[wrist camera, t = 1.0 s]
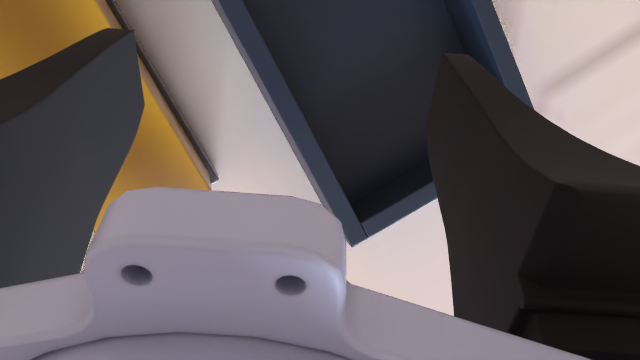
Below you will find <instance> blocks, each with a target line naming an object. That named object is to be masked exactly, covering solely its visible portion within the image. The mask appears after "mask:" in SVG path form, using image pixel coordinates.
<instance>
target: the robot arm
mask: <svg viewBox="0 0 640 360" xmlns="http://www.w3.org/2000/svg"><path fill="white" fill-rule="evenodd" d="M144 106H145V102H144V96H143V89H142V82H141V76H140V69H139V63H138V56H137V49H136V43H135V36H134V30H128V29H115V28H106V29H103V30H100V31H98V32H96V33H94V34H92V35H90V36H88V37H86V38H84V39H82V40H80V41H78V42H76V43H74V44H72V45H71V46H69V47H67V48H65V49H63V50H61V51H59V52H57V53H55V54H53V55H52V56H50V57H48V58H46V59H44V60H42V61H39V62H37V63H35V64H33V65H31V66H29V67H27V68H25V69H23V70H20V71H18V72H16V73H14V74H12V75H10V76H7V77H5V78H2V79H0V360H640V166H638V165H635V164H633V163H630V162H628V161H625V160H623V159H620V158H618V157H616V156H613V155H611V154H609V153H607V152H605V151H603V150H600V149H598V148H596V147H594V146H592V145H590V144H588V143H586V142H584V141H582V140H581V139H579V138H577V137H575V136H573V135H571V134H570V133H568V132H567V131H565V130H563V129H562V128H560V127H558V126H557V125H555V124H554V123H552V122H550V121H549V120H547V119H546V118H544V117H543V116H542V115H540V114H539V113H538V112H536V111H535V110H534V109H532V108H531V107H530V106H528V105H527V104H526V103H524V102H523V101H522V100H521V99H519V98H518V97H517V96H516V95H514V94H513V93H512V92H511V91H510V90H508V89H507V88H506V87H505V86H504V85H503V84H502V83H500V82H499V81H498V80H497V79H496V78H495V77H494V76H493V75H492V74H490V73H489V72H488V71H487V70H486V69H485V68H484V67H483V66H482V65H480V64H479V63H478V62H477V61H476V60H475V59H473V58H472V57H471V56H469V55H467V54H453V53H442V56H441V60H440V65H439V69H438V74H437V78H436V83H435V87H434V92H433V96H432V101H431V105H430V110H429V115H428V119H427V124H426V130H427V145H428V157H429V162H430V167H431V171H432V176H433V180H434V185H435V189H436V193H437V197H438V202H439V206H440V210H441V214H442V219H443V223H444V227H445V232H446V238H447V244H448V253H449V263H450V272H451V283H452V295H453V306H454V316H451V315H448V314H445V313H442V312H439V311H435V310H432V309H429V308H426V307H423V306H419V305H416V304H413V303H410V302H407V301H404V300H400V299H397V298H394V297H391V296H388V295H385V294H381V293H378V292H375V291H372V290H369V289H365V288H362V287H359V286H356V285H353V284H351V283H349V282H348V281H347V280H346V240H345V236H344V232H343V228H342V224H341V221H340V220H338V219H337V218H336V217H335V216H334V215H333V214H332V213H330V212H329V211H328V210H327V209H326V208H325V207H323V206H322V205H321V204H318V203H314V202H311V201H307V200H303V199H300V198H296V197H292V196H282V195H268V194H253V193H239V192H224V191H210V190H196V189H181V188H167V187H151V188H144V189H137V190H129V191H126V192H125V193H123V194H122V195H121V196H120V197H118V198H117V199H116V200H115V201H113V202H112V203H111V204H110V205H108V207H107V209H106V211H105V214H104V216H103V218H102V220H101V222H100V224H99V227H98V229H97V231H96V233H95V235H94V238H93V240H92V242H91V244H90V246H89V249H88V251H87V253H86V250H87V247H88V244H89V241H90V238H91V235H92V232H93V229H94V226H95V223H96V220H97V218H98V215H99V213H100V211H101V208H102V206H103V204H104V202H105V200H106V198H107V196H108V194H109V191H110V189H111V187H112V185H113V183H114V181H115V179H116V177H117V175H118V173H119V171H120V169H121V167H122V165H123V163H124V161H125V159H126V157H127V154H128V152H129V150H130V148H131V146H132V144H133V142H134V140H135V137H136V134H137V131H138V128H139V124H140V121H141V117H142V114H143V110H144ZM85 253H86V258H85V267H84V273H80V270H81V266H82V263H83V260H84V256H85Z"/></svg>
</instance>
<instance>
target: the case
mask: <svg viewBox="0 0 640 360" xmlns="http://www.w3.org/2000/svg"><path fill="white" fill-rule="evenodd" d="M211 1H212V2H213V4H214V6H215V8H216V10H217V12H218V13H219V15H220V17H221V19H222V21H223V23H224V25H225V26H226V28H227V30H228V32H229V34H230V36H231V37H232V39H233V41H234V43H235V45H236V47H237V48H238V50H239V52H240V54H241V56H242V58H243V59H244V61H245V63H246V65H247V67H248V69H249V70H250V72H251V74H252V76H253V78H254V80H255V82H256V83H257V85H258V87H259V89H260V91H261V93H262V94H263V96H264V98H265V100H266V102H267V104H268V105H269V107H270V109H271V111H272V113H273V115H274V116H275V118H276V120H277V122H278V124H279V126H280V127H281V129H282V131H283V133H284V135H285V137H286V139H287V140H288V142H289V144H290V146H291V148H292V150H293V151H294V153H295V155H296V157H297V159H298V161H299V162H300V164H301V166H302V168H303V170H304V172H305V173H306V175H307V177H308V179H309V181H310V183H311V185H312V186H313V188H314V190H315V192H316V194H317V196H318V197H319V199H320V201H321V203H322V205H323V207H325V208H326V209H327V210H328V211H329V212H330V213H332V214H333V215H334V216H335V217H336V218H337V219H338V220H340V221H341V224H342V228H343V232H344V236H345V240H346V241H347V242H348V243H349V245H350V246H351V247H354V246H356V245H358V244H359V243H361V242H363V241H365V240H366V239H367V238H369V237H371V236H373V235H375V234H377V233H378V232H380V231H382V230H383V229H385V228H387V227H389V226H390V225H392V224H394V223H395V222H397V221H399V220H401V219H402V218H404V217H406V216H407V215H409V214H411V213H413V212H414V211H416V210H418V209H419V208H421V207H423V206H424V205H426V204H428V203H430V202H431V201H433V200H435V199H436V198H438V197H437V193H436V189H435V185H434V180H433V176H432V171H431V167H430V162H429V157H428V145H427V130H426V124H427V119H428V115H429V110H430V105H431V101H432V96H433V92H434V87H435V83H436V78H437V74H438V69H439V65H440V60H441V56H442V53H453V54H467V55H469V56H471V57H472V58H473V59H475V60H476V61H477V62H478V63H479V64H480V65H482V66H483V67H484V68H485V69H486V70H487V71H488V72H489V73H490V74H492V75H493V76H494V77H495V78H496V79H497V80H498V81H499V82H500V83H502V84H503V85H504V86H505V87H506V88H507V89H508V90H510V91H511V92H512V93H513V94H514V95H516V96H517V97H518V98H519V99H521V100H522V101H523V102H524V103H526V104H527V105H528V106H530V107H531V108H532V109H534V108H533V106H532V103H531V100H530V98H529V95H528V93H527V90H526V88H525V85H524V83H523V80H522V77H521V75H520V72H519V70H518V67H517V65H516V62H515V60H514V57H513V54H512V52H511V49H510V47H509V44H508V42H507V39H506V37H505V34H504V31H503V29H502V26H501V24H500V21H499V19H498V16H497V14H496V11H495V8H494V6H493V3H492V1H491V0H211Z"/></svg>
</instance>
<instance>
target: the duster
mask: <svg viewBox="0 0 640 360" xmlns="http://www.w3.org/2000/svg"><path fill="white" fill-rule="evenodd" d="M106 28H115V29H128V30H131V28H130V26H129V24H128V23H127V21H126V19H125V18H124V16H123V14H122V13H121V11H120V9H119V8H118V6H117V4H116V3H115V1H114V0H0V79H2V78H5V77H7V76H10V75H12V74H14V73H16V72H18V71H20V70H23V69H25V68H27V67H29V66H31V65H33V64H35V63H37V62H39V61H42V60H44V59H46V58H48V57H50V56H52V55H53V54H55V53H57V52H59V51H61V50H63V49H65V48H67V47H69V46H71V45H72V44H74V43H76V42H78V41H80V40H82V39H84V38H86V37H88V36H90V35H92V34H94V33H96V32H98V31H100V30H103V29H106ZM134 36H135V35H134ZM135 43H136V49H137V56H138V63H139V69H140V76H141V82H142V89H143V96H144V102H145V106H144V110H143V114H142V117H141V121H140V124H139V128H138V131H137V134H136V137H135V140H134V142H133V144H132V146H131V148H130V150H129V152H128V154H127V157H126V159H125V161H124V163H123V165H122V167H121V169H120V171H119V173H118V175H117V177H116V179H115V181H114V183H113V185H112V187H111V189H110V191H109V194H108V196H107V198H106V200H105V202H104V204H103V206H102V208H101V211H100V213H99V215H98V218H97V220H96V223H95V226H94V229H93V230H94V232H95V233H96V231H97V229H98V227H99V224H100V222H101V220H102V218H103V216H104V214H105V211H106V209H107V207H108V205H110V204H111V203H112V202H113V201H115V200H116V199H117V198H118V197H120V196H121V195H122V194H123V193H125V192H126V191H129V190H137V189H144V188H151V187H167V188H181V189H196V190H210V191H211V185H212V184H213V183H215V182H217V181H218V180H219V178H218V174H217V172H216V170H215V169H214V167H213V165H212V164H211V162H210V160H209V159H208V157H207V155H206V154H205V152H204V150H203V148H202V147H201V145H200V143H199V142H198V140H197V138H196V137H195V135H194V133H193V132H192V130H191V128H190V127H189V125H188V123H187V122H186V120H185V118H184V117H183V115H182V113H181V112H180V110H179V108H178V107H177V105H176V103H175V102H174V100H173V98H172V97H171V95H170V93H169V92H168V90H167V88H166V86H165V85H164V83H163V81H162V80H161V78H160V76H159V75H158V73H157V71H156V70H155V68H154V66H153V65H152V63H151V61H150V60H149V58H148V56H147V55H146V53H145V51H144V50H143V48H142V46H141V45H140V43H139V41H138V40H137V38H136V36H135Z"/></svg>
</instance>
